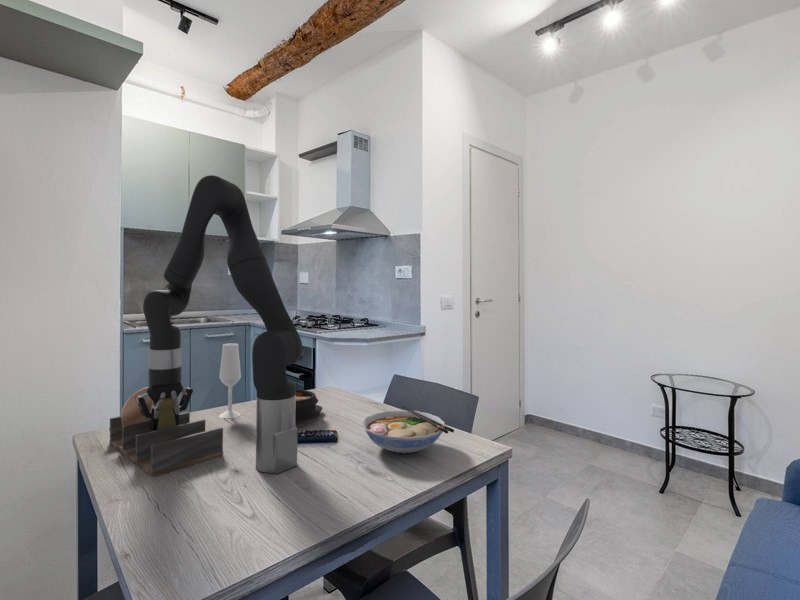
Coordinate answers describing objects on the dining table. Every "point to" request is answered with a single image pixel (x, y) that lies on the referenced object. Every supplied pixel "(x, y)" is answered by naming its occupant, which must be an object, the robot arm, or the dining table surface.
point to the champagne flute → (230, 374)
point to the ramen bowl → (404, 430)
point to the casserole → (306, 407)
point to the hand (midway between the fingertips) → (165, 429)
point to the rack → (163, 440)
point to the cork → (166, 413)
